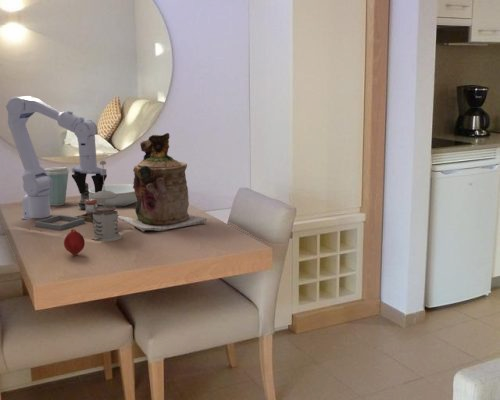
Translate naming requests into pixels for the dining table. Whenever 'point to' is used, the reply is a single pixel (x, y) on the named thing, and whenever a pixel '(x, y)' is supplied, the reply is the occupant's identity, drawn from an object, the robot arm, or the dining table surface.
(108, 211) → the french press
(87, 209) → the pin
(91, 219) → the board
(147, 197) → the cookie jar
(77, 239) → the onion
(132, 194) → the serving bowl
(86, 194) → the grey tiered figure
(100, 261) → the dining table surface
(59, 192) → the disposable coffee cup
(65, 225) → the tray
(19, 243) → the dining table surface
